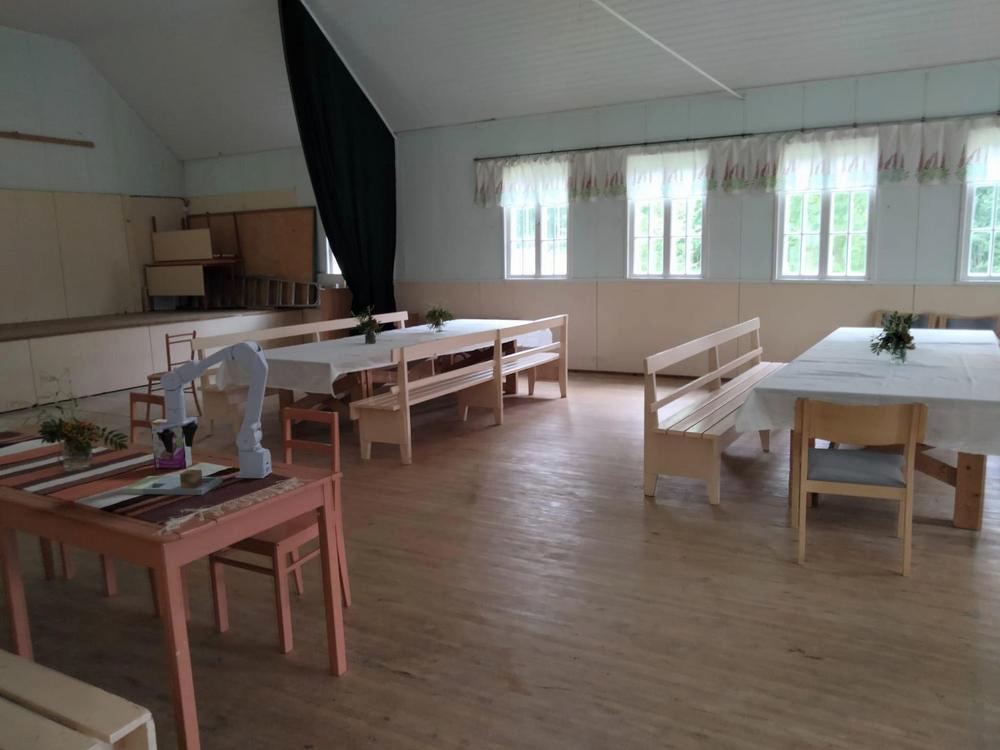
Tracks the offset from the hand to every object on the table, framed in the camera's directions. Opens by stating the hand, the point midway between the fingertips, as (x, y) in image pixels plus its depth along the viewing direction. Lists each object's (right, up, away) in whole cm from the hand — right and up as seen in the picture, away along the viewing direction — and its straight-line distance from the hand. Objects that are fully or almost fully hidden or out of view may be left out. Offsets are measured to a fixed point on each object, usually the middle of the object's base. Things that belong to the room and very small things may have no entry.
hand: (179, 449), depth 241 cm
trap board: (+2, -11, -9) cm, 14 cm away
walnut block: (+9, -10, -13) cm, 19 cm away
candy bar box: (-8, -8, +15) cm, 19 cm away
